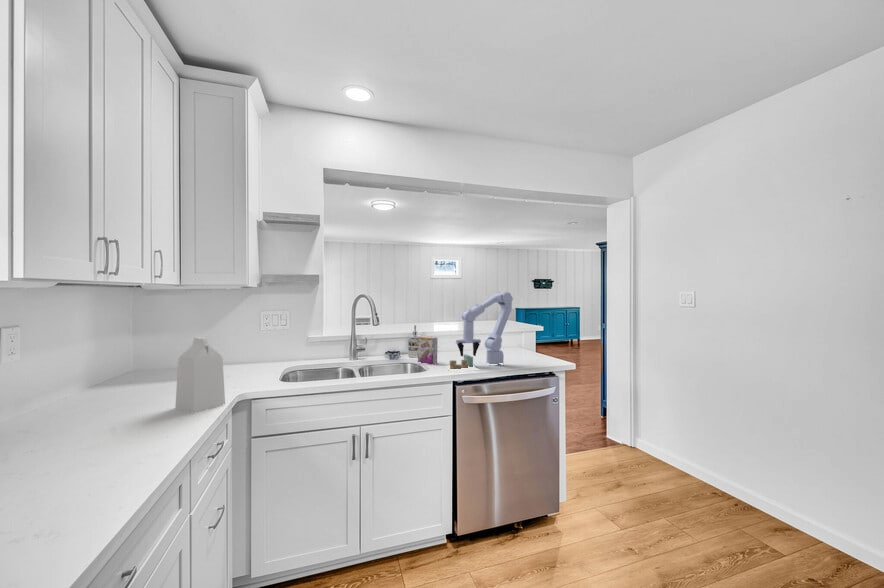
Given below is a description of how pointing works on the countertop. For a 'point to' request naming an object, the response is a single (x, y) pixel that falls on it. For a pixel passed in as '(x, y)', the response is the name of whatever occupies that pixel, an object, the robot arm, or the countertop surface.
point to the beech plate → (453, 365)
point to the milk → (200, 378)
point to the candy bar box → (427, 349)
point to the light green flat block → (469, 360)
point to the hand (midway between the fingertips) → (468, 355)
